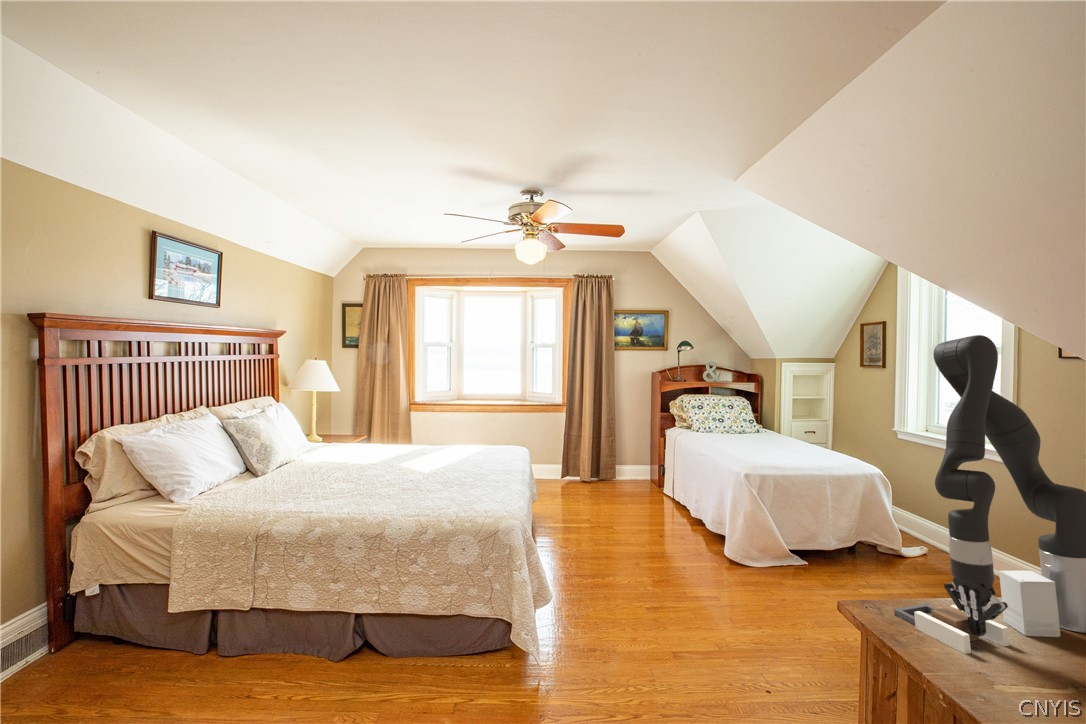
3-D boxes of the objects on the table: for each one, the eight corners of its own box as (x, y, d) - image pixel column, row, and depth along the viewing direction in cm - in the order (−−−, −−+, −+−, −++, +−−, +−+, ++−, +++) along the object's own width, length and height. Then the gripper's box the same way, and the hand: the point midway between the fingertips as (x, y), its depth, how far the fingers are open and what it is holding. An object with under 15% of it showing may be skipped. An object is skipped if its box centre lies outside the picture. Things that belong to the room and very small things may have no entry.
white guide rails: (956, 621, 125) (955, 604, 126) (1009, 645, 114) (1007, 627, 114) (915, 628, 123) (914, 611, 123) (965, 654, 111) (963, 635, 112)
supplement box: (1062, 637, 115) (1056, 582, 116) (1024, 636, 117) (1019, 581, 117) (1037, 622, 123) (1032, 570, 123) (1002, 621, 124) (997, 569, 125)
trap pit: (926, 609, 132) (926, 603, 132) (949, 619, 126) (948, 613, 126) (894, 614, 130) (894, 609, 130) (915, 625, 124) (915, 619, 124)
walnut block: (953, 627, 123) (951, 606, 123) (978, 639, 117) (977, 617, 117) (933, 631, 122) (931, 610, 122) (957, 643, 116) (955, 621, 116)
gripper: (1016, 565, 109) (1023, 646, 109) (955, 546, 122) (962, 618, 122) (987, 569, 108) (995, 652, 107) (930, 550, 121) (936, 623, 120)
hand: (977, 634), depth 114 cm, fingers closed
